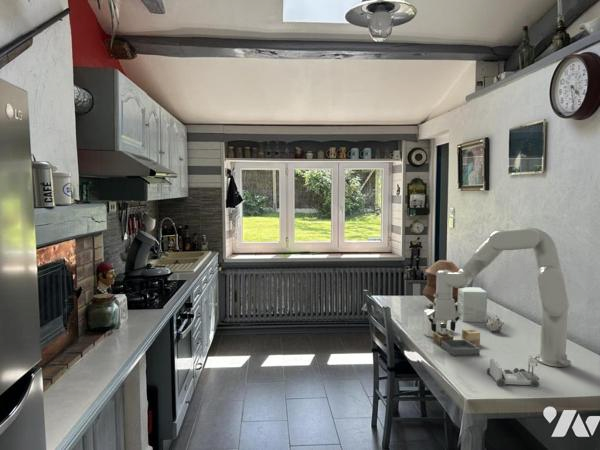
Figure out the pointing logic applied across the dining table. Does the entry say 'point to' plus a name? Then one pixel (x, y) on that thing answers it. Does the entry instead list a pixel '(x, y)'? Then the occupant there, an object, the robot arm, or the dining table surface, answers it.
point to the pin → (443, 329)
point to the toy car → (514, 374)
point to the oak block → (471, 336)
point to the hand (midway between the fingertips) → (443, 330)
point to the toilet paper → (427, 324)
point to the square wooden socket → (441, 338)
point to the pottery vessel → (432, 275)
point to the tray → (460, 347)
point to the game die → (494, 324)
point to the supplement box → (472, 304)
